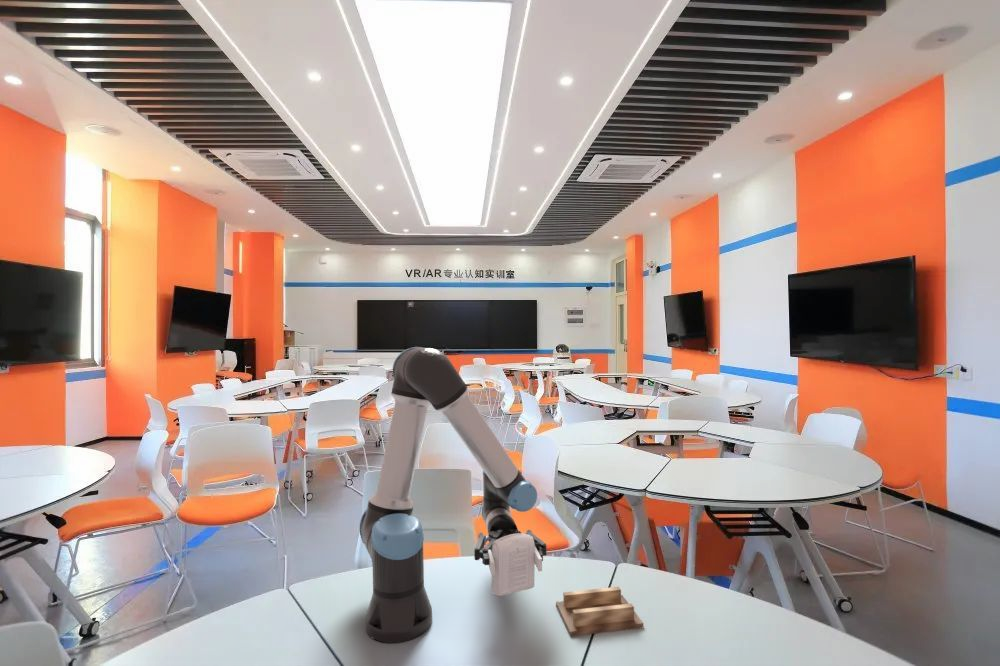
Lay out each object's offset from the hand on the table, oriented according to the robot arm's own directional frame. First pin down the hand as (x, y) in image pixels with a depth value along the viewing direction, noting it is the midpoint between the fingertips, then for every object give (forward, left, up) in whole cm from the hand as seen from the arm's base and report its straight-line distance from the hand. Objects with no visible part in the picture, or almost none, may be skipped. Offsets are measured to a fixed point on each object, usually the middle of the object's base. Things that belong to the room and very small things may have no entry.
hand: (516, 566), depth 107 cm
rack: (+20, +4, -15) cm, 25 cm away
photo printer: (0, +4, -7) cm, 8 cm away
